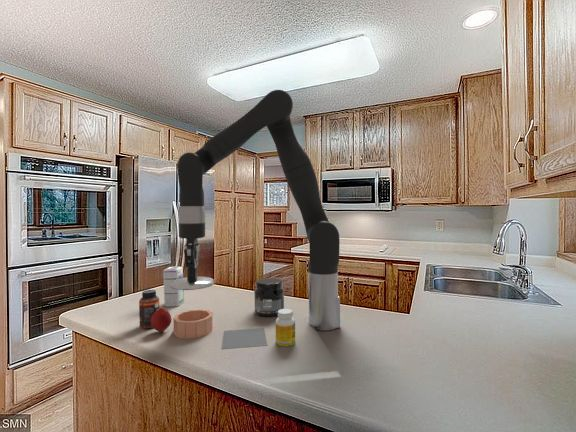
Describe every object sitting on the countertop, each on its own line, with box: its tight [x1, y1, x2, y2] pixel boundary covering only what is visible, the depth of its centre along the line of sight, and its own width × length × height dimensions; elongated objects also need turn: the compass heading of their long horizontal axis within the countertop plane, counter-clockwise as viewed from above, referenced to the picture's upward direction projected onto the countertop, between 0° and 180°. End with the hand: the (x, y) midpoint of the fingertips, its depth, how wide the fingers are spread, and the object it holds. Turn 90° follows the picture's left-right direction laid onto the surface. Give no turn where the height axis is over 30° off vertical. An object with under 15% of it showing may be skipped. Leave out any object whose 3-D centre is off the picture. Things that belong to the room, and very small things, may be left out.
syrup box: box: [162, 266, 185, 307], centre depth 120 cm, size 6×6×14 cm
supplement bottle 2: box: [274, 308, 296, 348], centre depth 83 cm, size 5×5×10 cm
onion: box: [151, 305, 172, 333], centre depth 93 cm, size 6×6×8 cm
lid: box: [170, 264, 215, 291], centre depth 91 cm, size 12×12×6 cm
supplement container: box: [253, 277, 285, 318], centre depth 107 cm, size 10×10×12 cm
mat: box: [221, 327, 268, 350], centre depth 86 cm, size 12×12×1 cm
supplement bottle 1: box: [138, 289, 160, 330], centre depth 98 cm, size 6×6×11 cm
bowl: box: [172, 308, 214, 339], centre depth 92 cm, size 11×11×6 cm
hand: (192, 279), depth 91 cm, fingers closed on lid, 2 cm apart
